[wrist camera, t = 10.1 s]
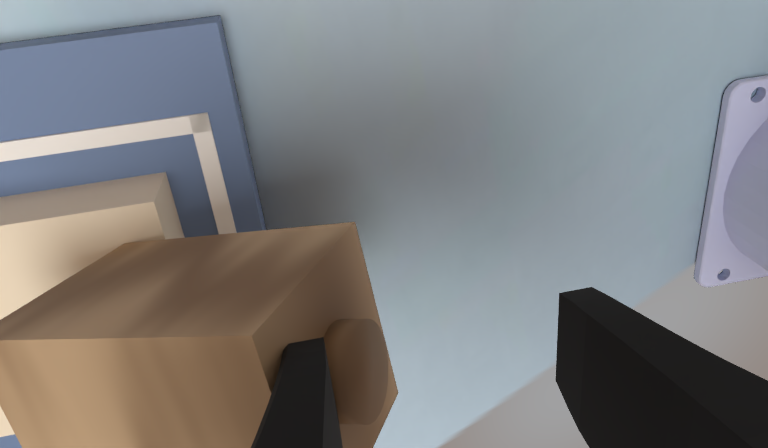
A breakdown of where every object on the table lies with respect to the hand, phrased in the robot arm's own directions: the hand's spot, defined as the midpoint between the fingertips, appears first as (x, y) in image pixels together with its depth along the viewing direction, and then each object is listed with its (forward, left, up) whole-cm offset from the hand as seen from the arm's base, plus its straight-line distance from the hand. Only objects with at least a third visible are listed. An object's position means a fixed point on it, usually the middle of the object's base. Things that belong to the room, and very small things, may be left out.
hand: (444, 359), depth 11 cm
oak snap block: (+8, +2, -4) cm, 9 cm away
